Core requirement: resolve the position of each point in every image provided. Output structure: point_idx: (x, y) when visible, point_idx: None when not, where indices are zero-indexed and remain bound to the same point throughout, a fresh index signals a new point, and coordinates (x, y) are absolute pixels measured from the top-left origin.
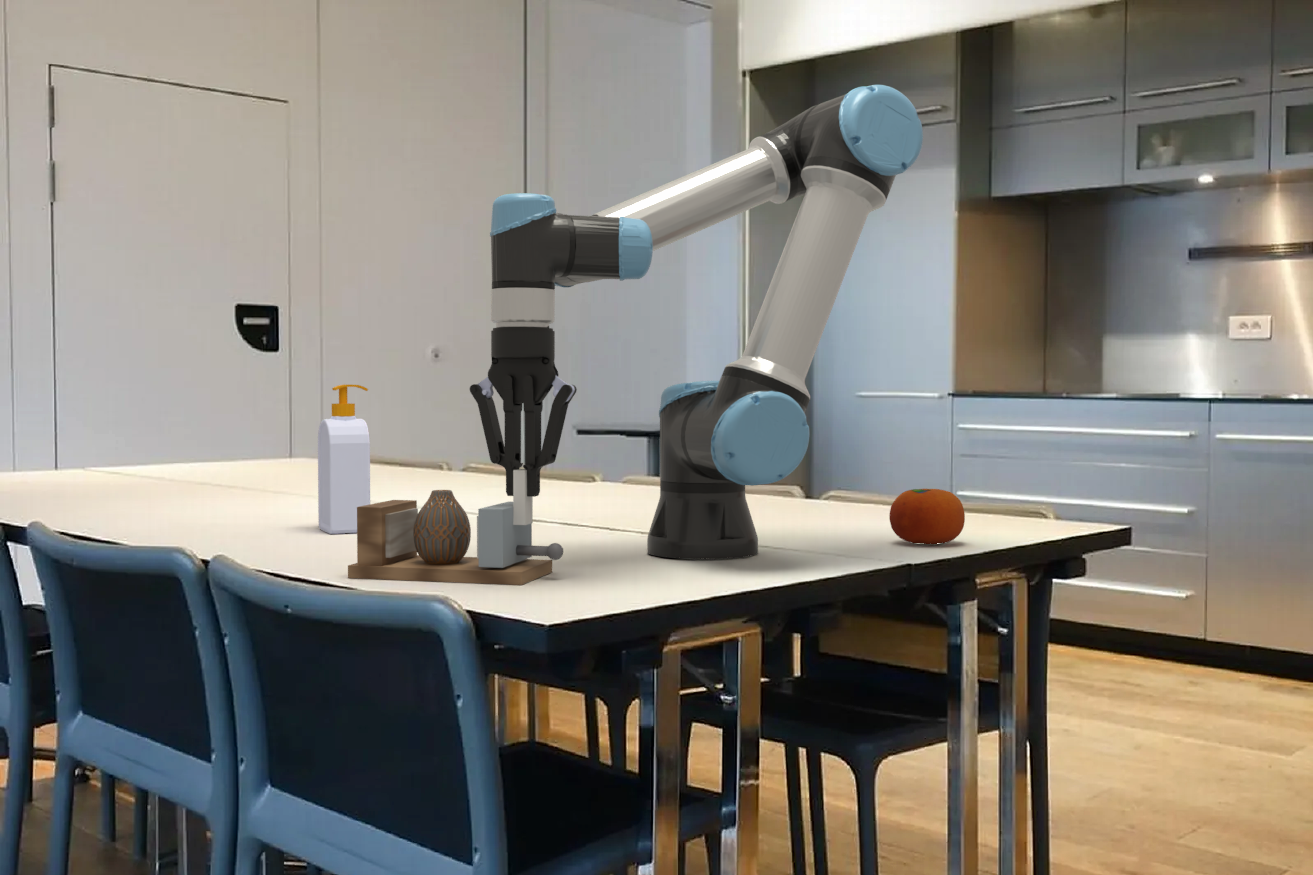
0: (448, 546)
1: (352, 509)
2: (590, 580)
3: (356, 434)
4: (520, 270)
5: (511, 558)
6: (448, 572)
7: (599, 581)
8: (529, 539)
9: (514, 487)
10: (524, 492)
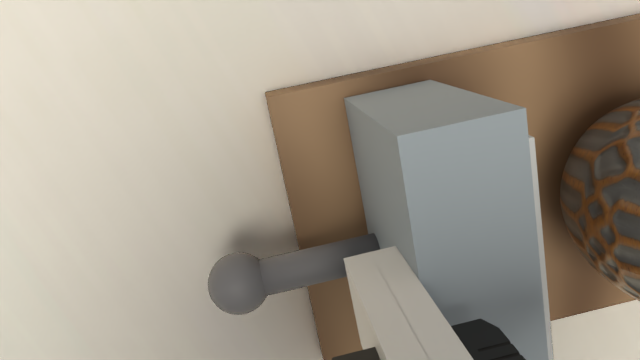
0: (601, 126)
1: None
2: (128, 278)
3: None
4: None
5: (363, 185)
6: (519, 42)
7: (91, 274)
8: None
9: (445, 330)
10: (377, 330)
